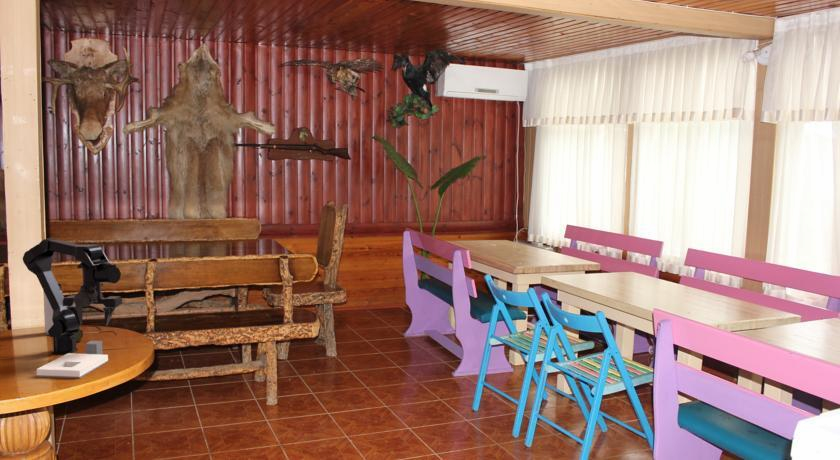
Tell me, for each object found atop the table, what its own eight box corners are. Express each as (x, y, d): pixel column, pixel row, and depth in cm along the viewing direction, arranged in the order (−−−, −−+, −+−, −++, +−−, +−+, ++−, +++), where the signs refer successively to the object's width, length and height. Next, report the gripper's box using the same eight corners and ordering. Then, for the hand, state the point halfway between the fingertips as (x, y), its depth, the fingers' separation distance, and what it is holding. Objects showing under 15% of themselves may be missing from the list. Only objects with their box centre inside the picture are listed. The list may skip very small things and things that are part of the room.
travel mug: (48, 331, 280) (46, 281, 278) (65, 331, 281) (64, 281, 279) (41, 335, 274) (39, 284, 272) (59, 335, 275) (57, 284, 272)
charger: (85, 357, 246) (85, 343, 246) (91, 354, 250) (91, 340, 249) (96, 358, 246) (96, 344, 245) (102, 354, 250) (102, 341, 249)
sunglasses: (63, 337, 273) (63, 324, 273) (100, 333, 285) (100, 320, 285) (82, 344, 265) (82, 330, 264) (119, 339, 276) (120, 326, 276)
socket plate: (36, 376, 224) (36, 369, 224) (68, 360, 242) (67, 353, 242) (79, 378, 224) (79, 370, 223) (107, 361, 242) (107, 354, 241)
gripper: (52, 285, 238) (54, 330, 239) (106, 286, 237) (108, 331, 238) (70, 279, 249) (72, 322, 250) (122, 280, 248) (123, 324, 249)
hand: (93, 325), depth 247 cm, fingers open, 9 cm apart
